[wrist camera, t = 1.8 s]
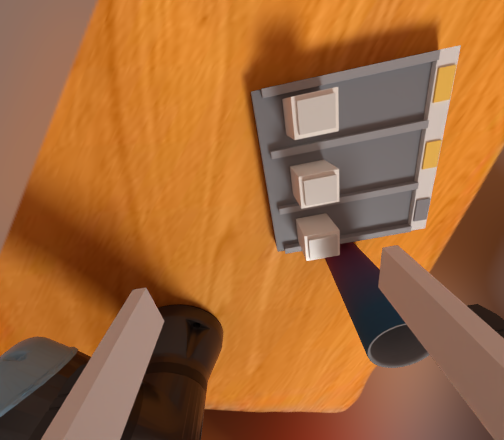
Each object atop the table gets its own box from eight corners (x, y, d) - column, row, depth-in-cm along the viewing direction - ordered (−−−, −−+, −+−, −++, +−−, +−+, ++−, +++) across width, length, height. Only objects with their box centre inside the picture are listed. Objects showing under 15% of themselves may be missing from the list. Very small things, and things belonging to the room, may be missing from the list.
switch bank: (276, 243, 33) (278, 254, 30) (250, 93, 24) (251, 91, 21) (411, 219, 32) (426, 228, 29) (438, 51, 23) (462, 44, 20)
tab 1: (286, 134, 24) (295, 140, 20) (282, 99, 22) (291, 96, 18) (322, 127, 24) (340, 131, 19) (321, 90, 22) (340, 86, 18)
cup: (331, 230, 32) (393, 316, 19) (371, 241, 33) (457, 329, 20) (312, 265, 35) (354, 362, 22) (349, 274, 36) (411, 372, 23)
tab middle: (292, 194, 27) (302, 210, 23) (289, 166, 26) (299, 178, 21) (325, 187, 27) (340, 203, 23) (323, 159, 25) (340, 169, 21)
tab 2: (298, 240, 30) (307, 263, 26) (295, 218, 29) (305, 238, 24) (327, 235, 30) (341, 257, 26) (326, 213, 28) (341, 231, 24)
